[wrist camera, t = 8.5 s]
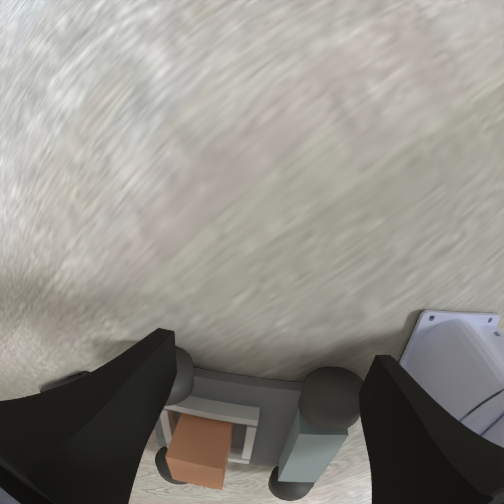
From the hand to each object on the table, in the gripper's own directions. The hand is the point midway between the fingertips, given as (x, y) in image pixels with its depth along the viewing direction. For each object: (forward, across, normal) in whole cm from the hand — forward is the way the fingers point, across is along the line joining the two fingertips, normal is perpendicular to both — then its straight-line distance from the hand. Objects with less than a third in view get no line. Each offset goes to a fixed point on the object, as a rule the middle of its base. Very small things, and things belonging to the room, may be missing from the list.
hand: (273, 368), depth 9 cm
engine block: (+8, +4, +17) cm, 19 cm away
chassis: (+9, +1, +17) cm, 19 cm away
